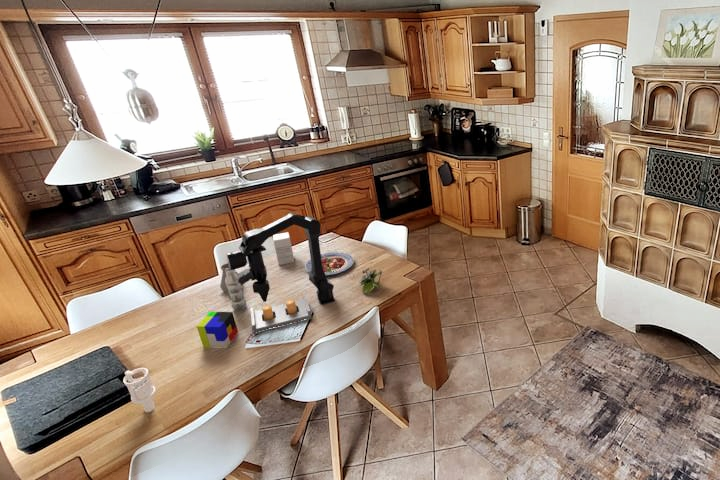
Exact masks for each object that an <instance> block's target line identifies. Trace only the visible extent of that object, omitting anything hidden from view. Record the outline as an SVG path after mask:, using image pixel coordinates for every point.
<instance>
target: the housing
mask: <svg viewBox="0 0 720 480" xmlns="http://www.w3.org/2000/svg"><path fill="white" fill-rule="evenodd" d="M301 298H302V299H299V300H294V301H295V303H296V308H297V313H294V314H290V315H288V314H287V313H288V312H287V307H286V302H285V303H282V304H278V305H273V306H271V307H272V311H273V315H274V316H275V317H274V319H271V320H267V321H265V320H264V315H263V311H262V308H261V309H257V310H255V309H254V307H250V318H251V328H252V330H253V331H252V332H253V334H254V333H255V334H257V333H256V332H259V331H262V330H266V329H269V328H273V327H278V326H282V325H286V326H288V325H287V324H290V323H294V322H297V323H299V322H298V321H301V320H304V319H309V320H312V319H313V317H312V312H311V309H310V306H309V303H308V300H307V297H306V295H305V294H303V295H302V297H301ZM301 322H302V321H301ZM294 324H295V323H294ZM290 325H291V324H290ZM282 327H283V326H282ZM278 328H279V327H278ZM259 333H260V332H259Z"/></svg>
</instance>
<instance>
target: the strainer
mask: <svg viewBox="0 0 720 480" xmlns="http://www.w3.org/2000/svg"><path fill="white" fill-rule="evenodd" d="M140 372H143V375H144V376H142V377H138V378H134V377H133V375H135V374H138V373H140ZM124 375H125V376H124V377H123V380H122V382H123V383H124V385H125V386H126V387H127V389H128V393H129V394H130V400H131V402H132V404H134V405H141V406H142V408H143V411H144V412H145V413H151V412H152V411H154V410H155V407H156V406H155V403H154V401H153V398H154V397H155V395H156V393H157V389H156V387H155V386H154V385H153V384H152V383H153V382H152V380H151V378H150V372H149V369H148V368H147V367H139V368H134V369H133V370H126V371H125V372H124Z"/></svg>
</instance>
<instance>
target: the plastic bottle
mask: <svg viewBox="0 0 720 480" xmlns="http://www.w3.org/2000/svg"><path fill="white" fill-rule="evenodd" d="M235 270H236V269H235ZM235 270H230V268H228V269H226V275H227V276H226V279H225V284H226V286H227V288H228V290H229V296H230V297H229V298H230V305H231V307H232V309H233V310H234V311H242V310H244V309H245V308H246V306H247V299H246V298H245V296H244V294H243V293H244V292H243V289H242V287H241V284H240V283H239V281H238V280H237V274H235Z"/></svg>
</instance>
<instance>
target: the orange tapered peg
mask: <svg viewBox="0 0 720 480" xmlns="http://www.w3.org/2000/svg"><path fill="white" fill-rule="evenodd" d="M295 301H296V300H295V299H290V300H287V301H286V302H285V303H286V307H287V312H286V313H287V315H290V314H294V313H298V310H297V308H296V303H295Z"/></svg>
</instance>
